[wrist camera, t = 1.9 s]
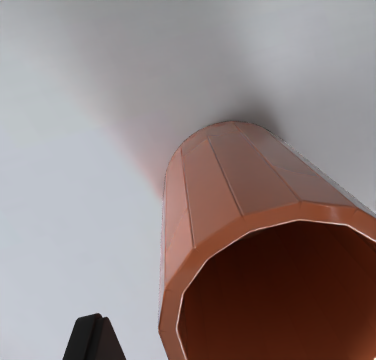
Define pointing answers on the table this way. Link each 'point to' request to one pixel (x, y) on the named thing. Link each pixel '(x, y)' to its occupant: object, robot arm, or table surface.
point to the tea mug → (262, 254)
